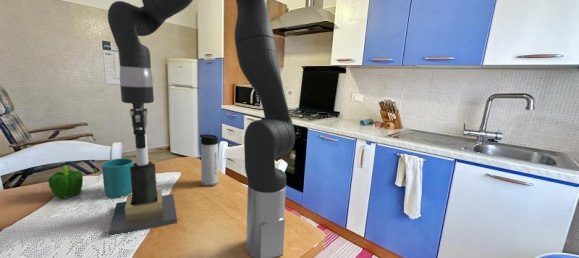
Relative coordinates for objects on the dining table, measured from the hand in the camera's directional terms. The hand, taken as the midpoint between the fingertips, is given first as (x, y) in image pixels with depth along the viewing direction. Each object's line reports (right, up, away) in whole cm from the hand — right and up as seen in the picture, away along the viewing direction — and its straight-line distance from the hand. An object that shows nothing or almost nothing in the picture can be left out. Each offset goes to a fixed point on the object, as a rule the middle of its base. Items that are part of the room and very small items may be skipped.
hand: (141, 146), depth 69 cm
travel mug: (+10, -17, +28) cm, 34 cm away
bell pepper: (-32, -18, +13) cm, 39 cm away
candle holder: (-1, -21, +4) cm, 22 cm away
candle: (-1, -18, +4) cm, 19 cm away
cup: (-17, -18, +18) cm, 30 cm away
